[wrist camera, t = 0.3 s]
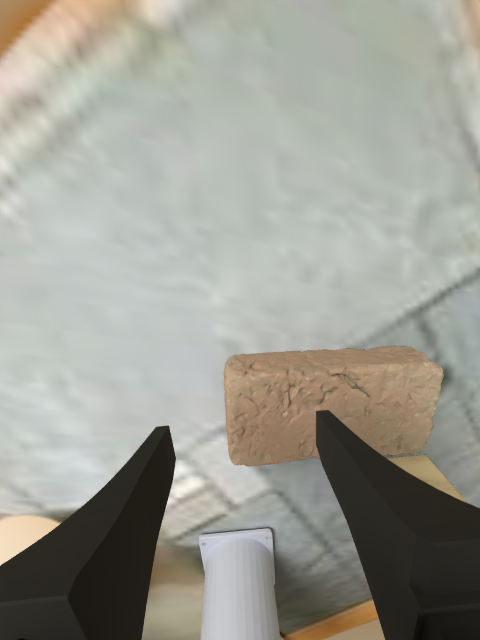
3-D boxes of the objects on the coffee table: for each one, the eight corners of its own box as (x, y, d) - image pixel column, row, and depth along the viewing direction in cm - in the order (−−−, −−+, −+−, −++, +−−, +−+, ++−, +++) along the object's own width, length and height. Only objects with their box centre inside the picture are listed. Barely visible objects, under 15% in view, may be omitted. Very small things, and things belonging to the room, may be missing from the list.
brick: (414, 341, 23) (457, 367, 19) (399, 421, 26) (434, 460, 21) (223, 349, 23) (221, 377, 18) (228, 429, 26) (227, 470, 21)
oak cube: (418, 490, 29) (455, 542, 24) (372, 495, 29) (400, 547, 24) (424, 454, 27) (466, 501, 22) (375, 458, 27) (407, 507, 22)
